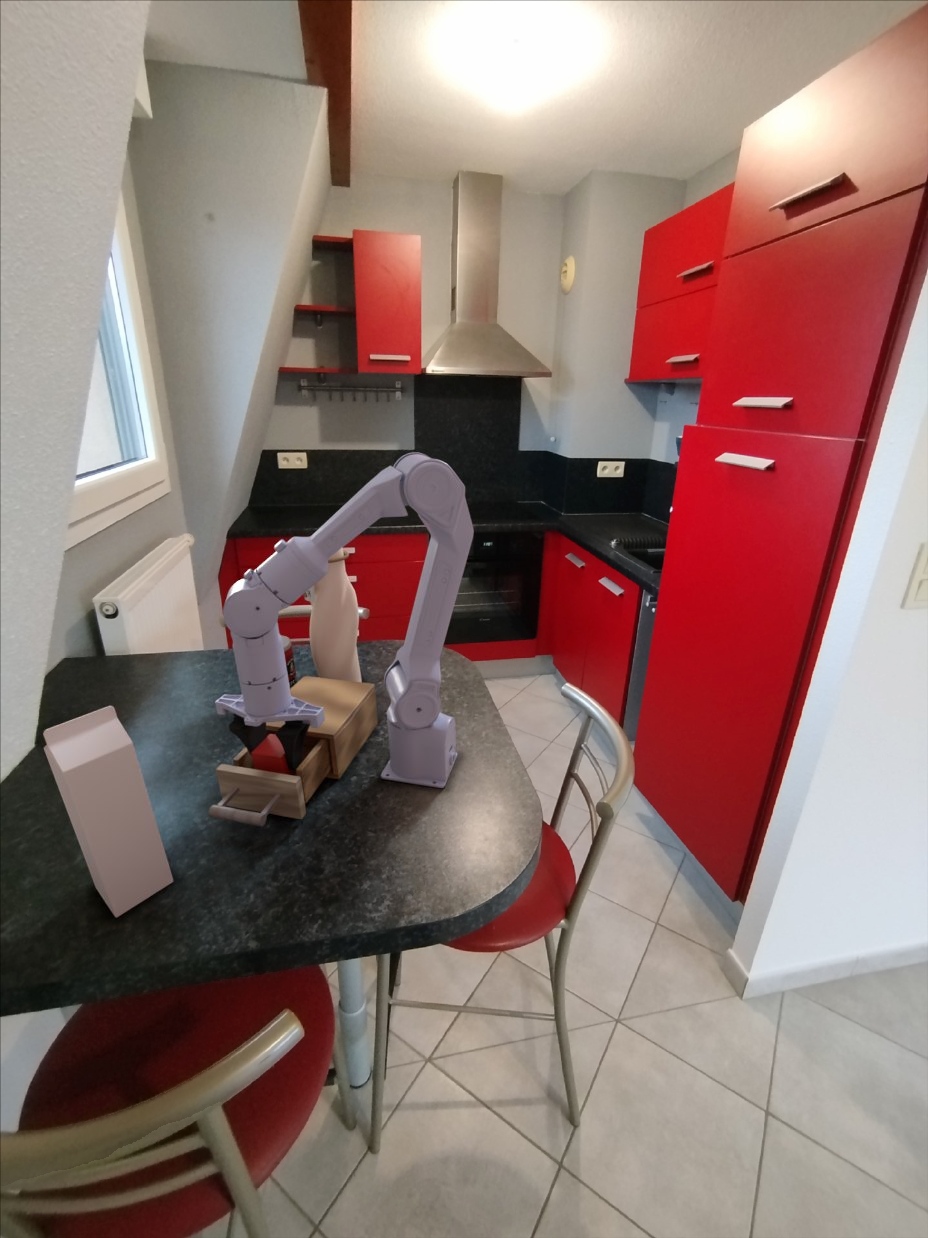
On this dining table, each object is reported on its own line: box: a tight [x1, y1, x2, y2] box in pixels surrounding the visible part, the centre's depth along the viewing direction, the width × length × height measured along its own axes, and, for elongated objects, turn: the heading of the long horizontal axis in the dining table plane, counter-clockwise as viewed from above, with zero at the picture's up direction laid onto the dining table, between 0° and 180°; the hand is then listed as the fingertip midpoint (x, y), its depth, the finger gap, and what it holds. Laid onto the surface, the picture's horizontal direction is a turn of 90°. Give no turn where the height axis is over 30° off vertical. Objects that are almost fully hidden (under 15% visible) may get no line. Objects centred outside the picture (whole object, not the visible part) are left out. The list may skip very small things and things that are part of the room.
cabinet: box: [266, 675, 379, 780], centre depth 82 cm, size 15×13×8 cm
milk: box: [42, 705, 174, 919], centre depth 55 cm, size 6×6×22 cm
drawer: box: [208, 730, 333, 827], centre depth 71 cm, size 18×11×6 cm, turn 166°
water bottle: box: [302, 547, 363, 683], centre depth 96 cm, size 10×9×28 cm
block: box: [251, 734, 302, 776], centre depth 71 cm, size 4×4×4 cm
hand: (278, 763), depth 71 cm, fingers closed on block, 4 cm apart
